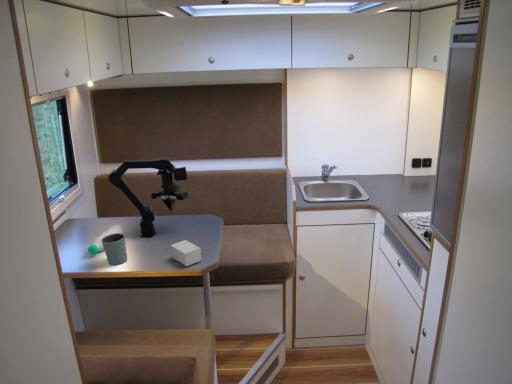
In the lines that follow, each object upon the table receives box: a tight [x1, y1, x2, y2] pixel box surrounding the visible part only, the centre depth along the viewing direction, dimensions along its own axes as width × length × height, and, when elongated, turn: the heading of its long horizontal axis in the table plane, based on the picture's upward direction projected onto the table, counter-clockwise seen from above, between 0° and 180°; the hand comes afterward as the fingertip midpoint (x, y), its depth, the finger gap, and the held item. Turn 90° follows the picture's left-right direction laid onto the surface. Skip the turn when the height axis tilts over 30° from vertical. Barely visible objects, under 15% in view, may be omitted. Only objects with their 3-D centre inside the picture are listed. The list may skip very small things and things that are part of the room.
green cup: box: [102, 233, 128, 267], centre depth 199 cm, size 10×10×12 cm
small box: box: [170, 239, 202, 267], centre depth 196 cm, size 8×6×13 cm
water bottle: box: [87, 223, 125, 256], centre depth 217 cm, size 7×7×25 cm
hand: (171, 210), depth 226 cm, fingers closed
